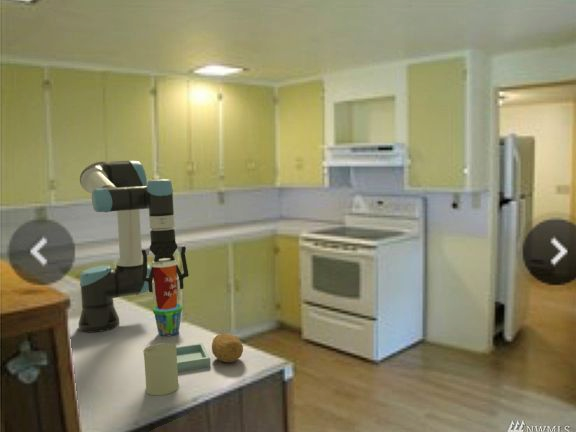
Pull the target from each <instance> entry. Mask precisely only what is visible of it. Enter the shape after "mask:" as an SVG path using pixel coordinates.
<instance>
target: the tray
mask: <svg viewBox="0 0 576 432" xmlns="http://www.w3.org/2000/svg"><path fill="white" fill-rule="evenodd" d="M176 347H177V371H178V373H179V372H184V371H191V370H197V369H202V368H209V367H211V357H210V355H209V353H208V351H207V348H206V346H205V345H204V343H203V342H201V343H193V344H186V345H185V344H184V345H178V346H176Z"/></svg>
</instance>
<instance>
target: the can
mask: <svg viewBox="0 0 576 432" xmlns="http://www.w3.org/2000/svg"><path fill="white" fill-rule="evenodd" d="M177 347H178V346H176V344H173V343H165V342H161V343H156V344H151V345H149V346H146V347H145V348H144V349H143V357H144V358H143V359H144V361H143V362H144V372H145V373H144V374H145V392H146V393H147V394H148V395H152V396H163V395H164V396H165V395H169V394H172V393H174V392H176V391H177V390H178V389H179V388H180V384H179V374H178V373H179V372H178V371H177Z"/></svg>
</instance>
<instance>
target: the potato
mask: <svg viewBox="0 0 576 432" xmlns="http://www.w3.org/2000/svg"><path fill="white" fill-rule="evenodd" d="M243 346H244V345H243V344H242V342H241V340H240V338H239V337H237V336H236V335H233V334H230V333H224V332H223V333H219V334H217V335H215V337H214V338H213V339H212V343H211V351H212V353H213V355H214V357H215V358H216V359H217V360H218V361H221V362H224V363H233V362H236V361H237V360H239V359H240V358H241V357H242V355H243V352H244V347H243Z"/></svg>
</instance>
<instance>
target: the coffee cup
mask: <svg viewBox="0 0 576 432" xmlns="http://www.w3.org/2000/svg"><path fill="white" fill-rule="evenodd" d="M176 265H178V262H177V260H176V258H175V260H172V261H171V259H170V258H163V259H159V261H158V262H154V260H152V262H151V265H150V267H151V268H152V267H153V272H154V277H153V281H154V282H155V295H156V306H157V307H158V309H172V308H175V307H176V306H177V304H178V297H177V278H178V274H177V272H176Z"/></svg>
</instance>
